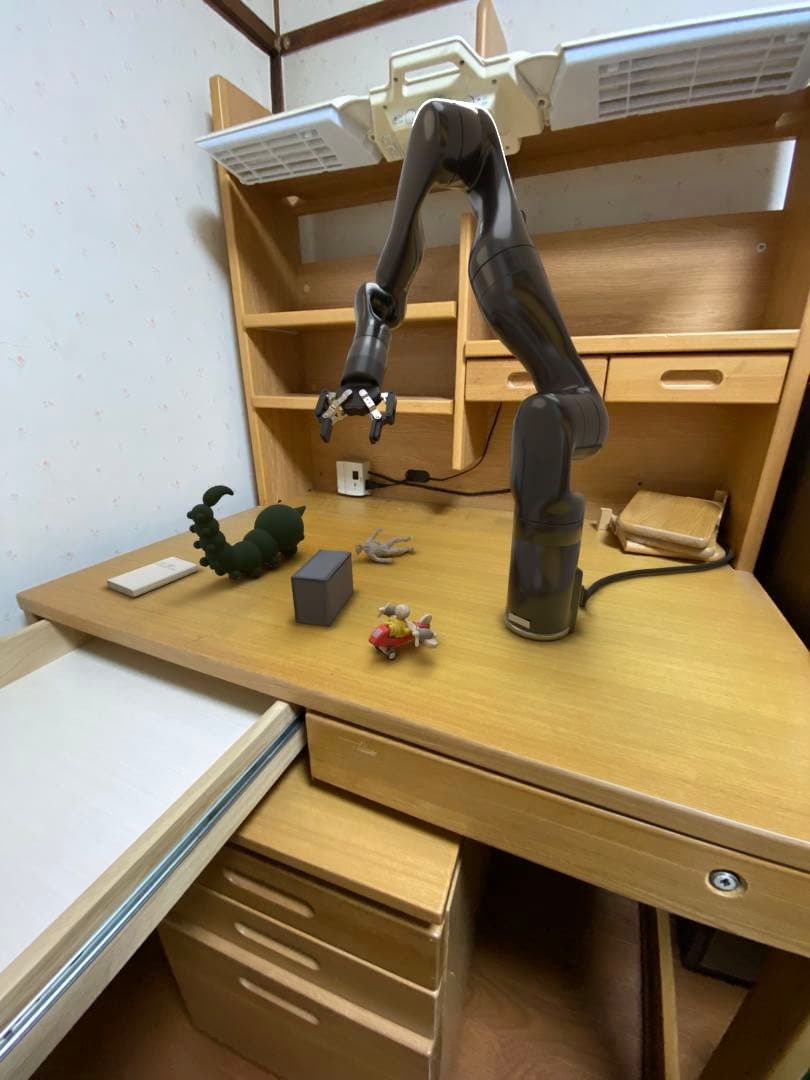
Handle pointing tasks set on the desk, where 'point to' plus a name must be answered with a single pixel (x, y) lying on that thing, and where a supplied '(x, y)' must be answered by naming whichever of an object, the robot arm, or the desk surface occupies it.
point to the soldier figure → (382, 547)
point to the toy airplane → (401, 630)
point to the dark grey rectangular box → (322, 587)
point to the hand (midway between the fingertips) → (348, 440)
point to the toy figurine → (246, 537)
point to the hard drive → (151, 576)
